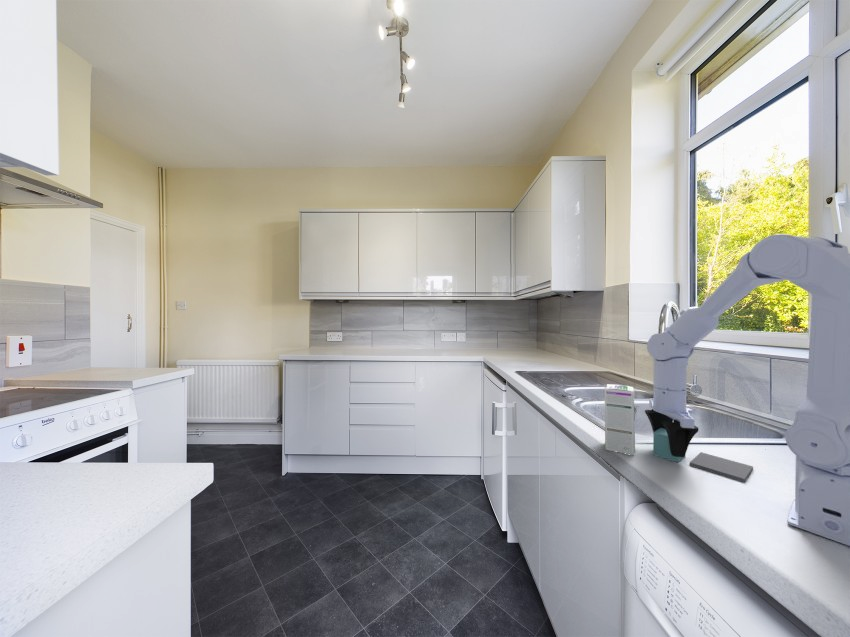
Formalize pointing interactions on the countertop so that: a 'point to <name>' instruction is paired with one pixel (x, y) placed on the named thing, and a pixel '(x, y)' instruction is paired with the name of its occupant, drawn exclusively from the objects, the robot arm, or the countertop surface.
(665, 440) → the teal block
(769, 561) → the countertop surface
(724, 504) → the countertop surface
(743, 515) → the countertop surface
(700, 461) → the mat
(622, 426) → the syrup box
